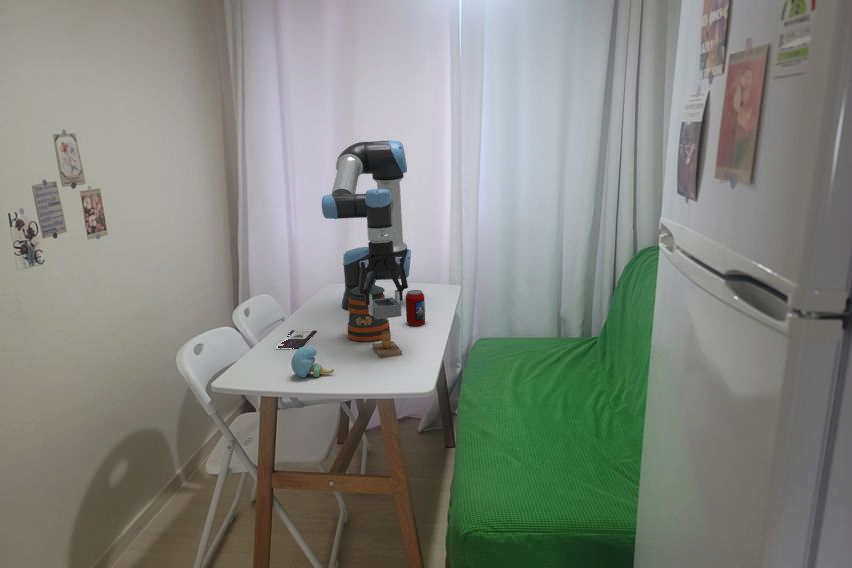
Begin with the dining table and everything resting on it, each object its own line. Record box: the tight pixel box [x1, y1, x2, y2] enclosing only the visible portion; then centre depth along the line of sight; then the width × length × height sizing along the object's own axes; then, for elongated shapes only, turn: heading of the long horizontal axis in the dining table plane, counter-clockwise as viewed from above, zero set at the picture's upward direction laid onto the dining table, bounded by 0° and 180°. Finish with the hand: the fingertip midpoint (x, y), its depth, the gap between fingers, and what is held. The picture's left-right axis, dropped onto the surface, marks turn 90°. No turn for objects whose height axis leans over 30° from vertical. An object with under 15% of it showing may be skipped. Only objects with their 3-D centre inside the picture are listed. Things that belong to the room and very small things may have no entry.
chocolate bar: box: [278, 329, 318, 349], centre depth 207 cm, size 9×1×18 cm
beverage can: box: [405, 289, 426, 327], centre depth 218 cm, size 7×7×12 cm
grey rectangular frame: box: [368, 297, 402, 319], centre depth 190 cm, size 10×8×4 cm
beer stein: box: [347, 272, 391, 343], centre depth 209 cm, size 19×15×20 cm
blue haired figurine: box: [290, 345, 335, 378], centre depth 175 cm, size 7×9×12 cm
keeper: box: [371, 331, 403, 359], centre depth 193 cm, size 10×7×6 cm
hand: (384, 312), depth 190 cm, fingers closed on grey rectangular frame, 8 cm apart
